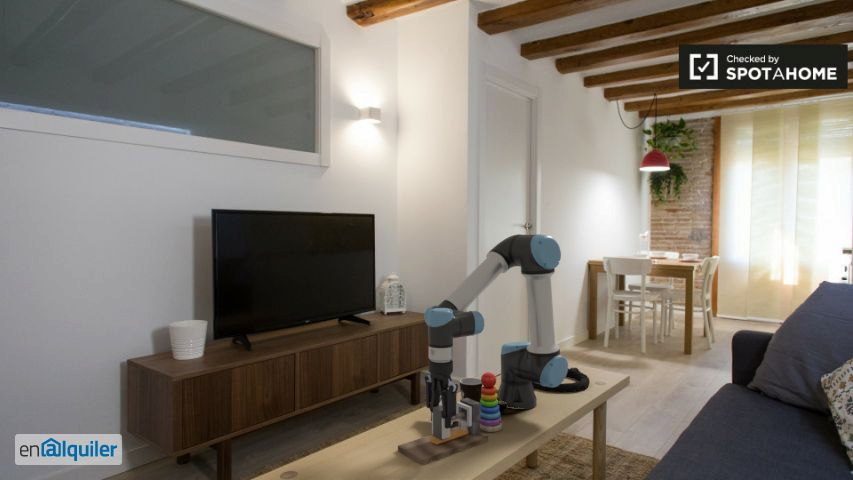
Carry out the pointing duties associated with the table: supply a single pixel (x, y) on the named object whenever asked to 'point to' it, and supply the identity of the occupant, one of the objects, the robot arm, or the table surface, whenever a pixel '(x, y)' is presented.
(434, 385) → the robot arm
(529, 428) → the table surface
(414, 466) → the table surface
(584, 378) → the cable lock
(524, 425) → the table surface
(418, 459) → the board
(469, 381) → the coffee mug
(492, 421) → the stacking toy
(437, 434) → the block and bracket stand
